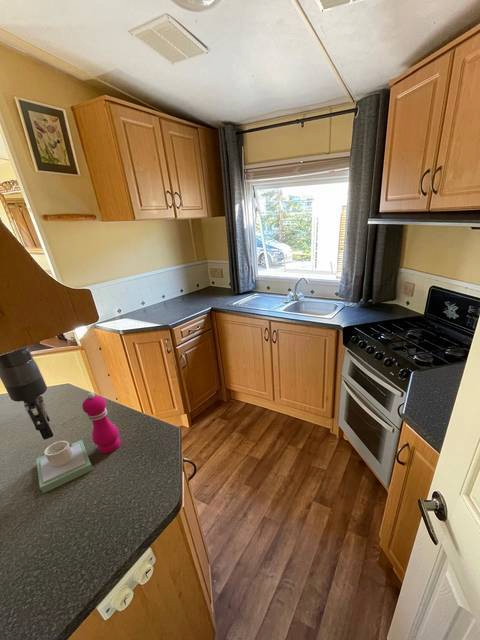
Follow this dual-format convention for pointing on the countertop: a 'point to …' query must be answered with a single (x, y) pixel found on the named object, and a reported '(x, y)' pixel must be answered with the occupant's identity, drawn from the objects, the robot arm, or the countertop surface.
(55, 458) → the dip bowl
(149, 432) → the countertop surface
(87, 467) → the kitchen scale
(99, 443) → the pepper mill
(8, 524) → the countertop surface
